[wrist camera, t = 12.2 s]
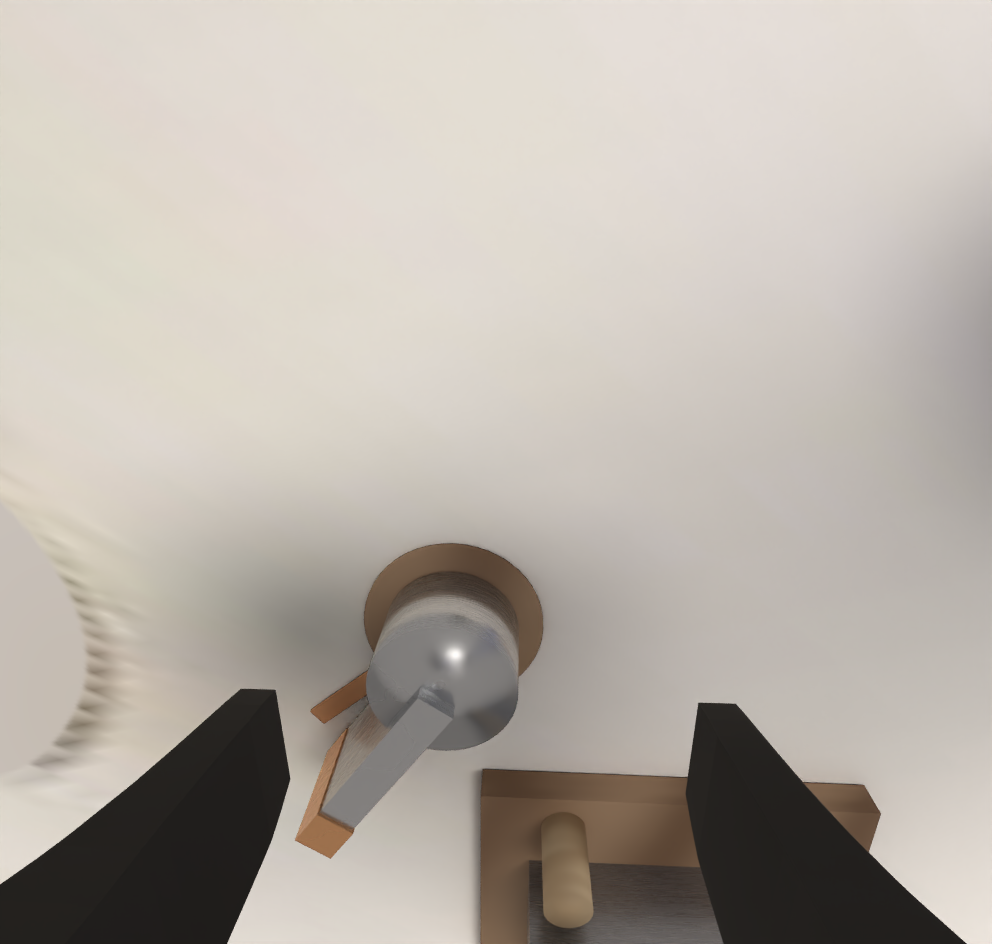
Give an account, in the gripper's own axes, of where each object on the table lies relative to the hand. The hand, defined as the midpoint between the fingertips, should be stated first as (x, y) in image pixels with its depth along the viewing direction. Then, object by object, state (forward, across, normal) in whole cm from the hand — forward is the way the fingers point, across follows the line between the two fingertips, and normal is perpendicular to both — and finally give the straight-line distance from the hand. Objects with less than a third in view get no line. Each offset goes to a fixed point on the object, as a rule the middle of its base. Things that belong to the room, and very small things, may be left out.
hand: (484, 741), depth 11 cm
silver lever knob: (+9, +3, +6) cm, 12 cm away
